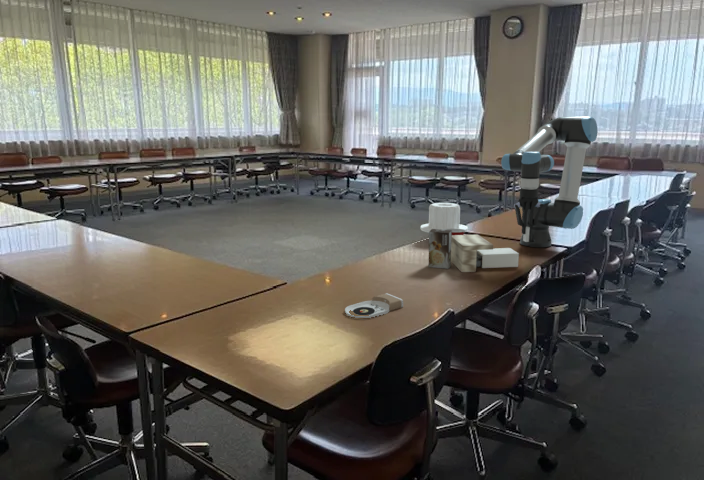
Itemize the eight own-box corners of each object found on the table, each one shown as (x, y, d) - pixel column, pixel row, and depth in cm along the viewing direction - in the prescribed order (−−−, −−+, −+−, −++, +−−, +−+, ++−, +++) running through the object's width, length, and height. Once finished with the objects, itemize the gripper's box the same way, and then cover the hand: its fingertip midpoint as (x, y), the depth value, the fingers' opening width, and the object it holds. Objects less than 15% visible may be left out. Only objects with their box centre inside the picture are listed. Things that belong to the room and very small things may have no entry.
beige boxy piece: (476, 258, 234) (477, 234, 232) (491, 271, 215) (493, 244, 212) (449, 259, 233) (449, 235, 230) (461, 272, 214) (462, 245, 211)
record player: (405, 300, 173) (359, 314, 161) (405, 309, 173) (359, 323, 162) (383, 291, 182) (338, 304, 170) (383, 299, 183) (338, 313, 171)
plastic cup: (463, 250, 249) (464, 226, 246) (465, 256, 238) (466, 231, 236) (440, 250, 250) (441, 226, 247) (442, 256, 239) (443, 231, 237)
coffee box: (451, 265, 224) (452, 229, 220) (448, 269, 218) (449, 232, 215) (431, 263, 227) (432, 228, 224) (427, 267, 222) (428, 231, 218)
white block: (509, 260, 230) (510, 247, 229) (518, 266, 221) (518, 253, 219) (474, 261, 229) (475, 249, 228) (482, 268, 219) (482, 254, 218)
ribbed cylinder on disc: (415, 235, 284) (416, 201, 280) (458, 233, 287) (459, 200, 283) (426, 245, 260) (427, 209, 256) (473, 243, 263) (475, 207, 259)
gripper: (540, 186, 222) (536, 238, 228) (511, 187, 221) (508, 239, 227) (547, 188, 215) (543, 242, 221) (518, 189, 214) (514, 243, 220)
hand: (525, 241), depth 224 cm, fingers closed
